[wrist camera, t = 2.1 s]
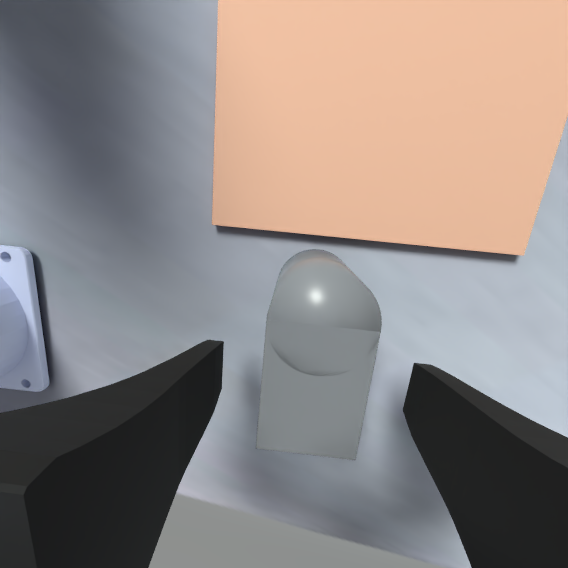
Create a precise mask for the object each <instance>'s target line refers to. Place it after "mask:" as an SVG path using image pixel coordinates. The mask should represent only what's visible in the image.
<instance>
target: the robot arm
mask: <svg viewBox="0 0 568 568" xmlns="http://www.w3.org/2000/svg"><path fill="white" fill-rule="evenodd" d="M9 254H10V256H11V259H10V257H9ZM223 344H224V342H223V341H214V340H206V341H204V342H202V343H200V344H198V345H196V346H194V347H192V348H190V349H189V350H187V351H185V352H183V353H181V354H179V355H177V356H175V357H174V358H172V359H170V360H168V361H166V362H163V363H161V364H159V365H157V366H155V367H153V368H151V369H149V370H147V371H144V372H142V373H140V374H137V375H135V376H132V377H130V378H127V379H125V380H122V381H119V382H117V383H114V384H111V385H108V386H105V387H102V388H99V389H96V390H92V391H89V392H86V393H82V394H79V395H76V396H73V397H69V398H65V399H61V400H57V401H53V402H49V403H45V404H41V405H37V406H32V407H28V408H23V409H18V410H14V411H9V412H3V413H0V568H148V567H149V564H150V561H151V558H152V556H153V553H154V550H155V547H156V545H157V542H158V539H159V537H160V534H161V531H162V528H163V526H164V523H165V520H166V518H167V515H168V512H169V509H170V507H171V505H172V502H173V499H174V497H175V494H176V491H177V489H178V486H179V484H180V482H181V479H182V477H183V475H184V473H185V470H186V468H187V466H188V464H189V462H190V460H191V458H192V456H193V454H194V452H195V450H196V448H197V446H198V444H199V442H200V440H201V438H202V436H203V433H204V431H205V429H206V427H207V425H208V423H209V421H210V419H211V417H212V415H213V413H214V410H215V407H216V404H217V401H218V398H219V395H220V392H221V389H222V368H223ZM48 386H49V375H48V368H47V361H46V353H45V346H44V338H43V331H42V324H41V316H40V309H39V302H38V294H37V287H36V280H35V272H34V265H33V258H32V255H31V253H30V252H29V251H28V250H27V249H26V248H23V247H16V246H6V245H0V388H7V389H15V390H24V391H33V392H41V391H43V390H44V389H46V388H47V387H48ZM403 412H404V415H405V418H406V421H407V424H408V427H409V430H410V432H411V435H412V437H413V440H414V442H415V444H416V446H417V448H418V450H419V452H420V454H421V456H422V458H423V460H424V462H425V464H426V466H427V468H428V470H429V472H430V474H431V476H432V478H433V480H434V482H435V484H436V486H437V488H438V490H439V492H440V494H441V496H442V498H443V500H444V502H445V504H446V506H447V508H448V510H449V513H450V515H451V517H452V519H453V521H454V524H455V526H456V529H457V531H458V534H459V536H460V539H461V541H462V544H463V546H464V549H465V551H466V554H467V556H468V559H469V561H470V564H471V567H472V568H568V438H567V437H565V436H563V435H561V434H559V433H557V432H555V431H553V430H550V429H548V428H546V427H544V426H542V425H540V424H538V423H536V422H534V421H532V420H530V419H528V418H526V417H525V416H523V415H521V414H519V413H517V412H515V411H513V410H512V409H510V408H508V407H506V406H504V405H502V404H501V403H499V402H497V401H495V400H493V399H492V398H490V397H488V396H486V395H485V394H483V393H481V392H479V391H478V390H476V389H474V388H473V387H471V386H469V385H467V384H466V383H464V382H462V381H461V380H459V379H457V378H455V377H454V376H452V375H450V374H448V373H446V372H445V371H443V370H441V369H439V368H437V367H435V366H432V365H428V364H419V363H414V365H413V369H412V374H411V378H410V382H409V386H408V391H407V395H406V399H405V403H404V407H403Z"/></svg>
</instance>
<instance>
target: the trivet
mask: <svg viewBox="0 0 568 568" xmlns="http://www.w3.org/2000/svg"><path fill="white" fill-rule="evenodd" d="M567 116H568V0H218V30H217V66H216V101H215V136H214V172H213V207H212V225H220V226H230V227H240V228H250V229H260V230H270V231H281V232H291V233H301V234H311V235H321V236H331V237H341V238H351V239H361V240H371V241H381V242H392V243H402V244H412V245H422V246H432V247H442V248H452V249H462V250H472V251H482V252H493V253H503V254H513V255H523V256H524V253H525V250H526V247H527V244H528V240H529V237H530V234H531V231H532V228H533V225H534V221H535V218H536V215H537V212H538V209H539V205H540V202H541V199H542V196H543V193H544V190H545V186H546V183H547V180H548V177H549V174H550V170H551V167H552V164H553V161H554V158H555V155H556V151H557V148H558V145H559V142H560V139H561V136H562V132H563V129H564V126H565V123H566V120H567Z"/></svg>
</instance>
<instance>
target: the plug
mask: <svg viewBox="0 0 568 568" xmlns="http://www.w3.org/2000/svg"><path fill="white" fill-rule="evenodd" d="M381 325H382V324H381V312H380V308H379V305H378V303H377V301H376V299H375V297H374V295H373V294H372V292H371V291H370V290H369V289H368V288H367V287H366V285H365V284H364V283H363V282H362V281H361V280H360V279H359V278H358V277H357V276H356V275H355V274H354V273H353V272H352V271H351V270H350V269H349V268H348V267H347V266H346V265H345V264H344V263H343V262H342V261H341V260H340V259H339V258H338V257H337V256H335V255H334V254H332V253H330V252H327V251H324V250H316V249H313V250H306V251H303V252H300V253H298V254H296V255H294V256H293V257H291V258H290V259H289V260H288V261H287V262H286V263H285V265H284V266H283V268H282V269H281V272H280V274H279V277H278V281H277V284H276V287H275V290H274V294H273V297H272V300H271V303H270V307H269V310H268V314H267V321H266V333H265V345H264V356H263V368H262V380H261V392H260V404H259V416H258V428H257V440H256V448H257V449H265V450H273V451H282V452H290V453H299V454H307V455H316V456H324V457H333V458H341V459H350V460H355V459H356V454H357V449H358V444H359V439H360V434H361V429H362V424H363V419H364V414H365V408H366V403H367V398H368V393H369V388H370V383H371V378H372V373H373V368H374V363H375V358H376V353H377V348H378V343H379V338H380V333H381Z"/></svg>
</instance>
